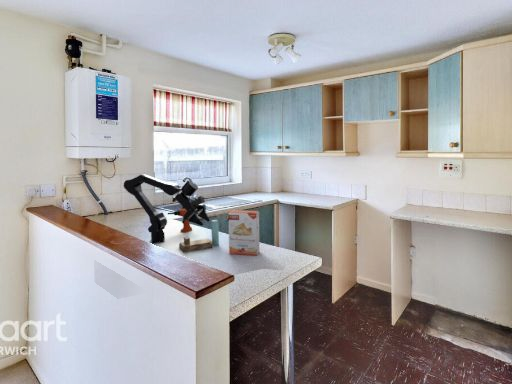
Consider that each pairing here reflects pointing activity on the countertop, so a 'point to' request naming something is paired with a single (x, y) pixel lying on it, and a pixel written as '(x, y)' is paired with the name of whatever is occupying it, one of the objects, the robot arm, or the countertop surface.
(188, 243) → the lid
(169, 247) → the countertop surface
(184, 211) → the toy drill
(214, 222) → the teal cylinder
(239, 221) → the cracker box
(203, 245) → the wooden frame piece
